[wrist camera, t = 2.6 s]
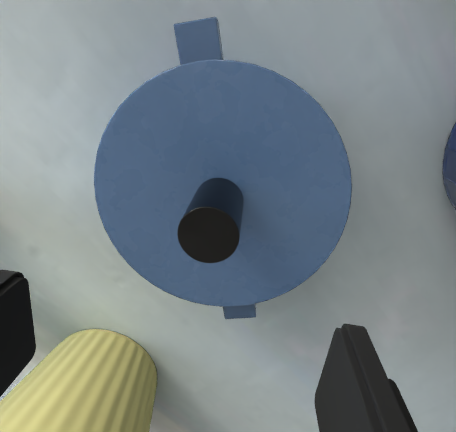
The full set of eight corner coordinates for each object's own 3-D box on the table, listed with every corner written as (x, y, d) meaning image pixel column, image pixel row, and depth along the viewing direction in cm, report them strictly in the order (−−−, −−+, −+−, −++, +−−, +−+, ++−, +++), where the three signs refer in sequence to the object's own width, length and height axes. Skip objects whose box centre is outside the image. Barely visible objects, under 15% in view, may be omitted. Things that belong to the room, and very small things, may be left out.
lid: (134, 303, 26) (99, 367, 20) (70, 82, 20) (-6, 84, 14) (347, 288, 24) (376, 356, 18) (345, 39, 18) (387, 19, 12)
